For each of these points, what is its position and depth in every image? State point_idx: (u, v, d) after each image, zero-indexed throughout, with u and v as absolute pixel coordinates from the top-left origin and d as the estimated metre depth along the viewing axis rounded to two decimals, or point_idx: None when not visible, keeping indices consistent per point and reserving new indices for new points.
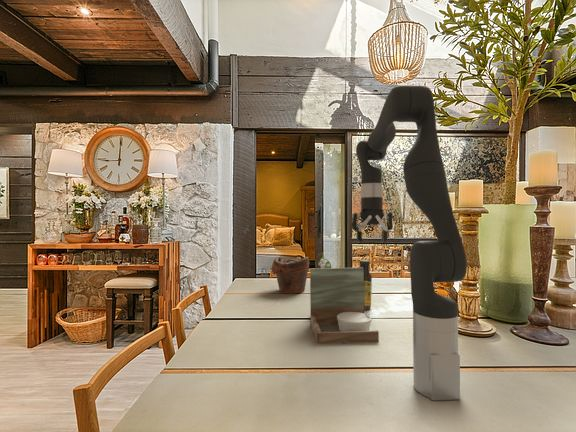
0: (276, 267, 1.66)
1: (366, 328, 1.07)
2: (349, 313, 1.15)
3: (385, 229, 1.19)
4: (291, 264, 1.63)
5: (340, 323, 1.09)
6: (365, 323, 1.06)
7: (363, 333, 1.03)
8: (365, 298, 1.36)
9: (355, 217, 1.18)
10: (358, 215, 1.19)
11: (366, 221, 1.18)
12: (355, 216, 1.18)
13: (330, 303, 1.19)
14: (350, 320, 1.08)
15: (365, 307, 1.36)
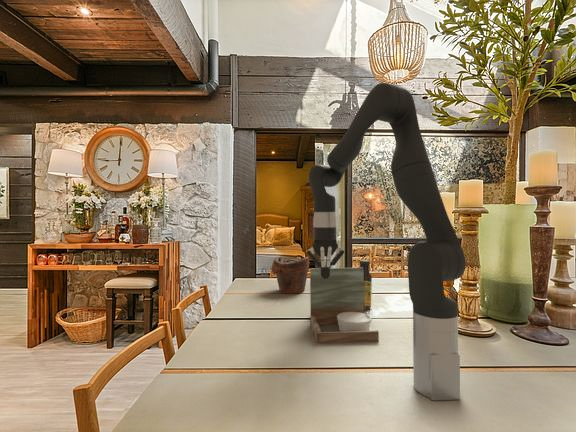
0: (276, 267, 1.66)
1: (366, 328, 1.07)
2: (349, 313, 1.15)
3: (327, 265, 1.09)
4: (291, 264, 1.63)
5: (340, 323, 1.09)
6: (365, 323, 1.06)
7: (363, 333, 1.03)
8: (365, 298, 1.36)
9: (310, 254, 1.09)
10: (312, 250, 1.10)
11: (322, 254, 1.09)
12: (310, 253, 1.09)
13: (330, 303, 1.19)
14: (350, 320, 1.08)
15: (365, 307, 1.36)
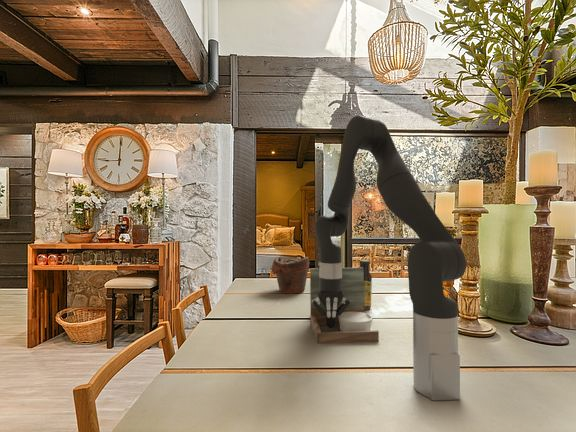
0: (276, 267, 1.66)
1: (367, 328, 1.08)
2: (350, 313, 1.15)
3: (333, 315, 1.10)
4: (291, 264, 1.63)
5: (341, 323, 1.09)
6: (366, 323, 1.06)
7: (363, 333, 1.03)
8: (365, 298, 1.36)
9: (316, 305, 1.09)
10: (317, 300, 1.10)
11: (328, 305, 1.09)
12: (315, 304, 1.09)
13: None
14: (351, 320, 1.08)
15: (365, 307, 1.36)
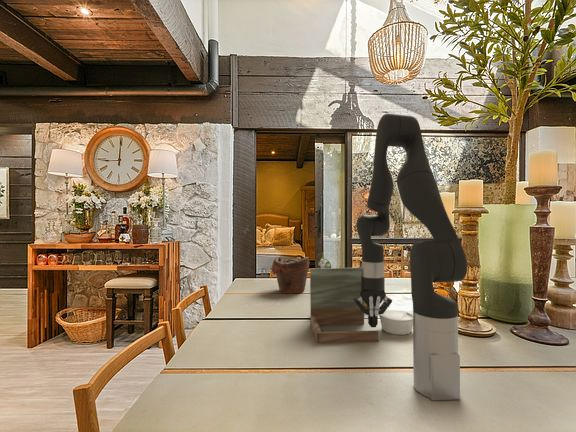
0: (276, 267, 1.66)
1: (410, 326, 1.09)
2: (390, 311, 1.16)
3: (375, 314, 1.11)
4: (291, 264, 1.63)
5: (384, 321, 1.10)
6: (410, 321, 1.08)
7: (363, 333, 1.03)
8: None
9: (359, 303, 1.10)
10: (360, 299, 1.11)
11: (371, 303, 1.10)
12: (358, 303, 1.10)
13: (330, 303, 1.19)
14: (394, 318, 1.09)
15: (365, 307, 1.36)
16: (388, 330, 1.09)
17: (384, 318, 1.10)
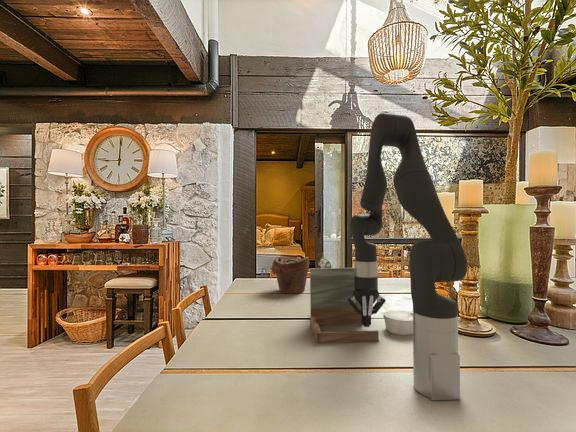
0: (276, 267, 1.66)
1: None
2: (394, 312, 1.16)
3: (369, 313, 1.10)
4: (291, 264, 1.63)
5: (388, 321, 1.10)
6: None
7: (363, 333, 1.03)
8: None
9: (352, 303, 1.10)
10: (353, 298, 1.11)
11: (364, 303, 1.10)
12: (351, 302, 1.10)
13: (330, 303, 1.19)
14: (398, 318, 1.09)
15: None
16: (392, 330, 1.09)
17: (388, 318, 1.10)
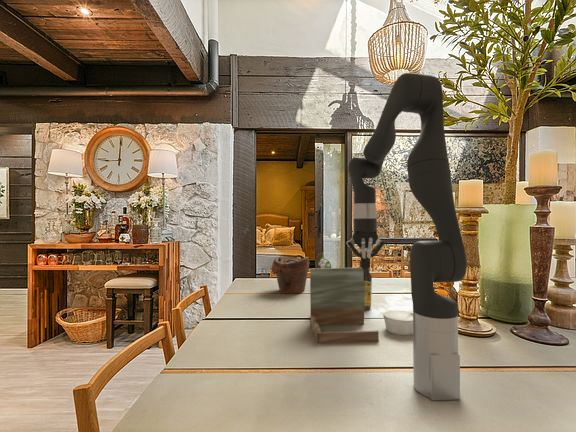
0: (276, 267, 1.66)
1: None
2: (394, 312, 1.16)
3: (368, 256, 1.10)
4: (291, 264, 1.63)
5: (388, 321, 1.10)
6: None
7: (363, 333, 1.03)
8: (365, 298, 1.36)
9: (351, 245, 1.10)
10: (352, 241, 1.11)
11: (363, 245, 1.10)
12: (350, 244, 1.10)
13: (330, 303, 1.19)
14: (398, 318, 1.09)
15: (365, 307, 1.36)
16: (392, 330, 1.09)
17: (388, 318, 1.10)
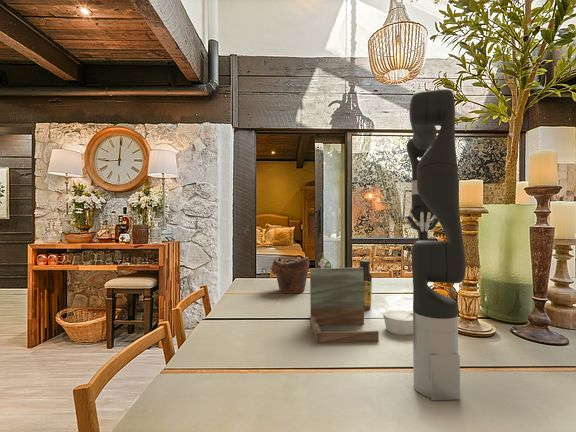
0: (276, 267, 1.66)
1: None
2: (394, 312, 1.16)
3: (426, 229, 1.18)
4: (291, 264, 1.63)
5: (388, 321, 1.10)
6: None
7: (363, 333, 1.03)
8: (365, 298, 1.36)
9: (410, 219, 1.18)
10: (411, 215, 1.19)
11: (422, 219, 1.18)
12: (410, 218, 1.18)
13: (330, 303, 1.19)
14: (398, 318, 1.09)
15: (365, 307, 1.36)
16: (392, 330, 1.09)
17: (388, 318, 1.10)
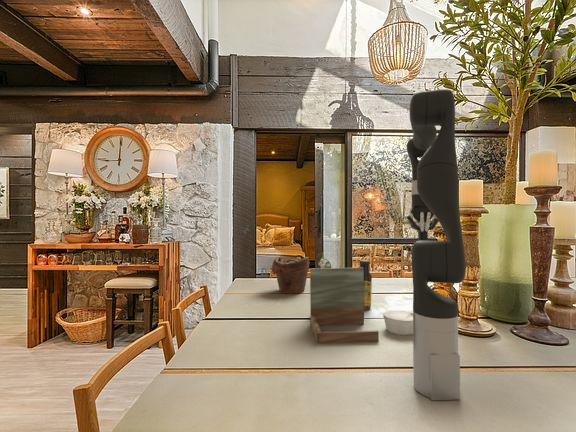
0: (276, 267, 1.66)
1: None
2: (394, 312, 1.16)
3: (426, 229, 1.18)
4: (291, 264, 1.63)
5: (388, 321, 1.10)
6: None
7: (363, 333, 1.03)
8: (365, 298, 1.36)
9: (410, 219, 1.18)
10: (411, 215, 1.19)
11: (422, 219, 1.18)
12: (410, 218, 1.18)
13: (330, 303, 1.19)
14: (398, 318, 1.09)
15: (365, 307, 1.36)
16: (392, 330, 1.09)
17: (388, 318, 1.10)
